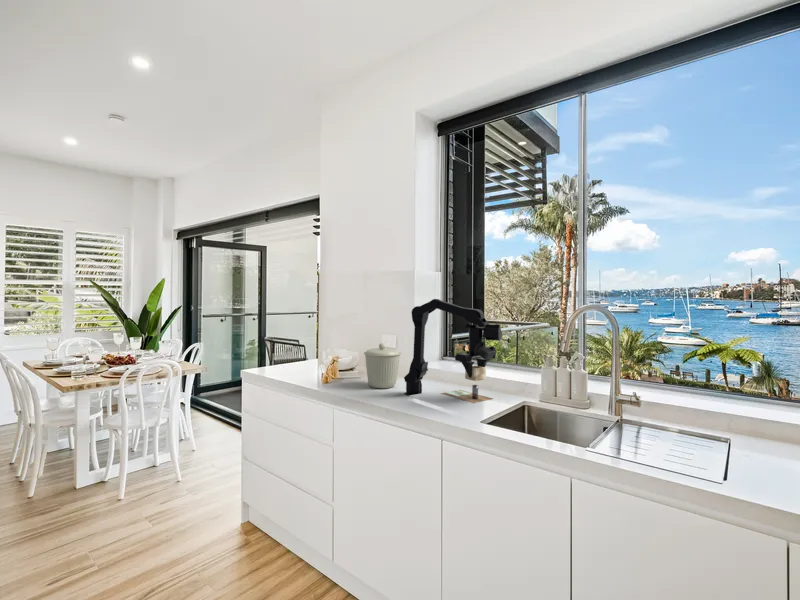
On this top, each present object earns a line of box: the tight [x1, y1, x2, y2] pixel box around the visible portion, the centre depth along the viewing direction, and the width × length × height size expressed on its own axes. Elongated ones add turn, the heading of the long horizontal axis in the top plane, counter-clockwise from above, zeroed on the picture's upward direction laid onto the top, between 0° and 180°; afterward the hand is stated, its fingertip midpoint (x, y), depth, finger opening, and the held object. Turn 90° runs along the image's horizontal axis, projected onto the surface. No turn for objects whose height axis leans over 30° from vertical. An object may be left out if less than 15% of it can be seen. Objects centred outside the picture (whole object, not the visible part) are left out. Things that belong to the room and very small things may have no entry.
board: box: [440, 389, 494, 404], centre depth 181 cm, size 12×20×2 cm, turn 37°
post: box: [471, 384, 479, 399], centre depth 177 cm, size 2×2×6 cm
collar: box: [464, 365, 487, 382], centre depth 177 cm, size 6×6×5 cm
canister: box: [363, 342, 402, 389], centre depth 205 cm, size 18×18×21 cm
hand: (475, 376), depth 177 cm, fingers closed on collar, 6 cm apart
